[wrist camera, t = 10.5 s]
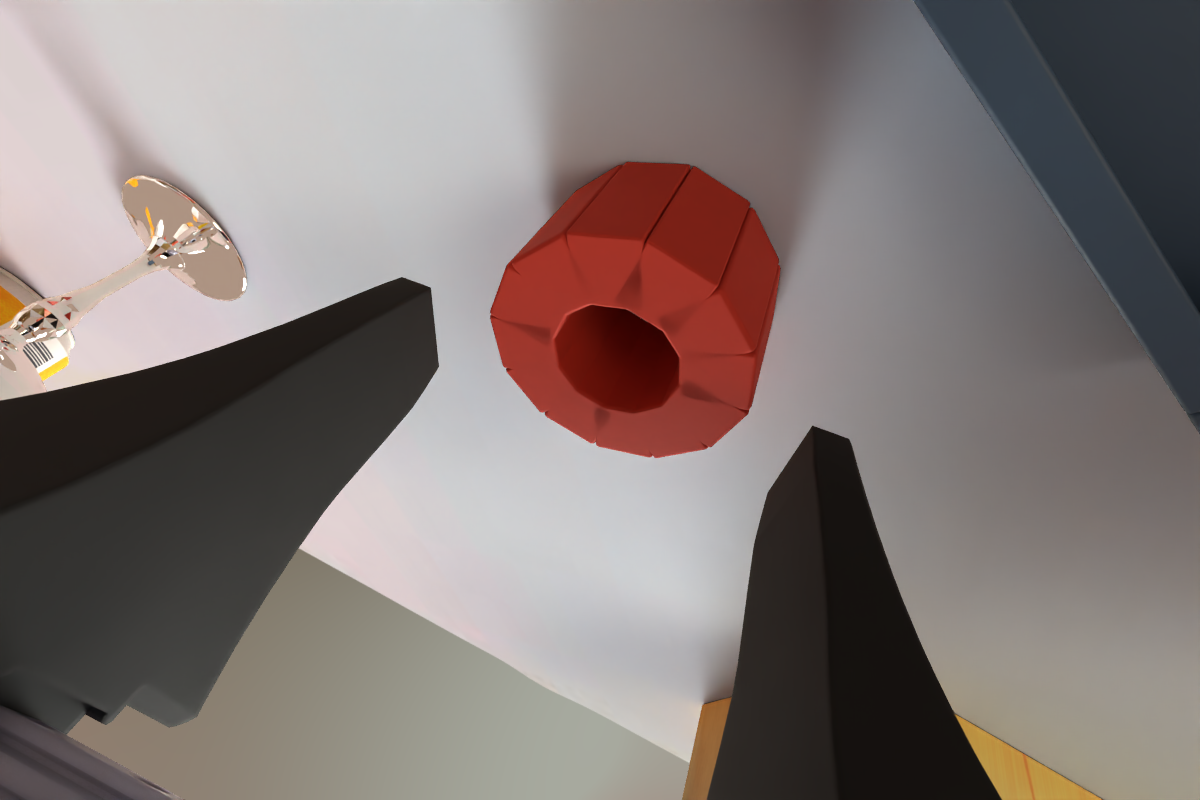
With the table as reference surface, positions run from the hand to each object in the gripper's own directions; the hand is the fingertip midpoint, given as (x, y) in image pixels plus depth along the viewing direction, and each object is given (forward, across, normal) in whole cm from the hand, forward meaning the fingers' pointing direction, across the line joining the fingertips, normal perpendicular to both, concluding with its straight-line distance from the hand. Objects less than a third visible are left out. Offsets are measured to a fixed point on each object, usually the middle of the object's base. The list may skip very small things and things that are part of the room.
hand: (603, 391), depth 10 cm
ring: (+4, 0, 0) cm, 4 cm away
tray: (+4, -9, -13) cm, 16 cm away
